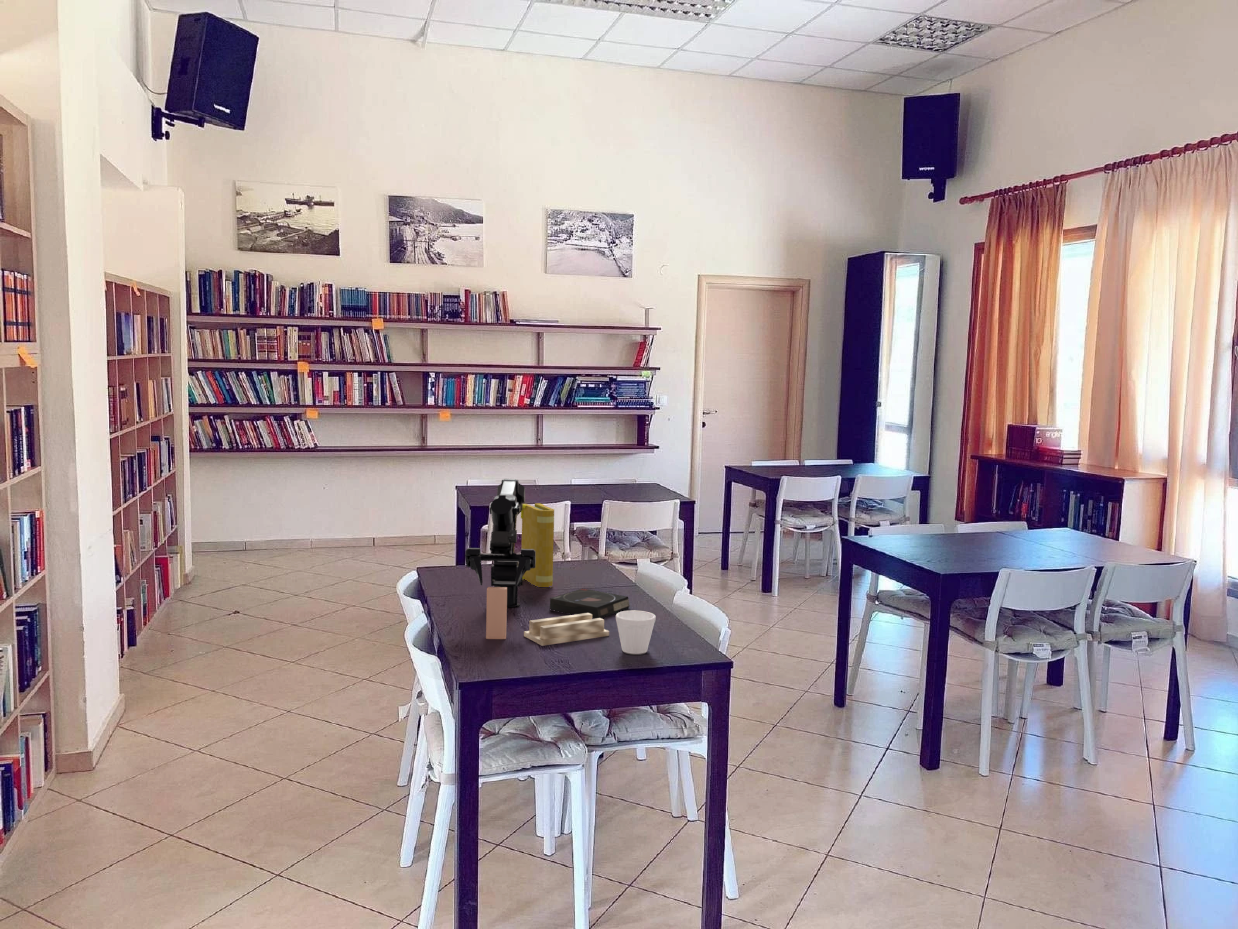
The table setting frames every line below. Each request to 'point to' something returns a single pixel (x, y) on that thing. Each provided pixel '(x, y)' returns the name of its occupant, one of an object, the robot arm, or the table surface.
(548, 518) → the book
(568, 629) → the rack
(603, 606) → the portable cd player
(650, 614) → the cup
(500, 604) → the tile
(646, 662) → the table surface
